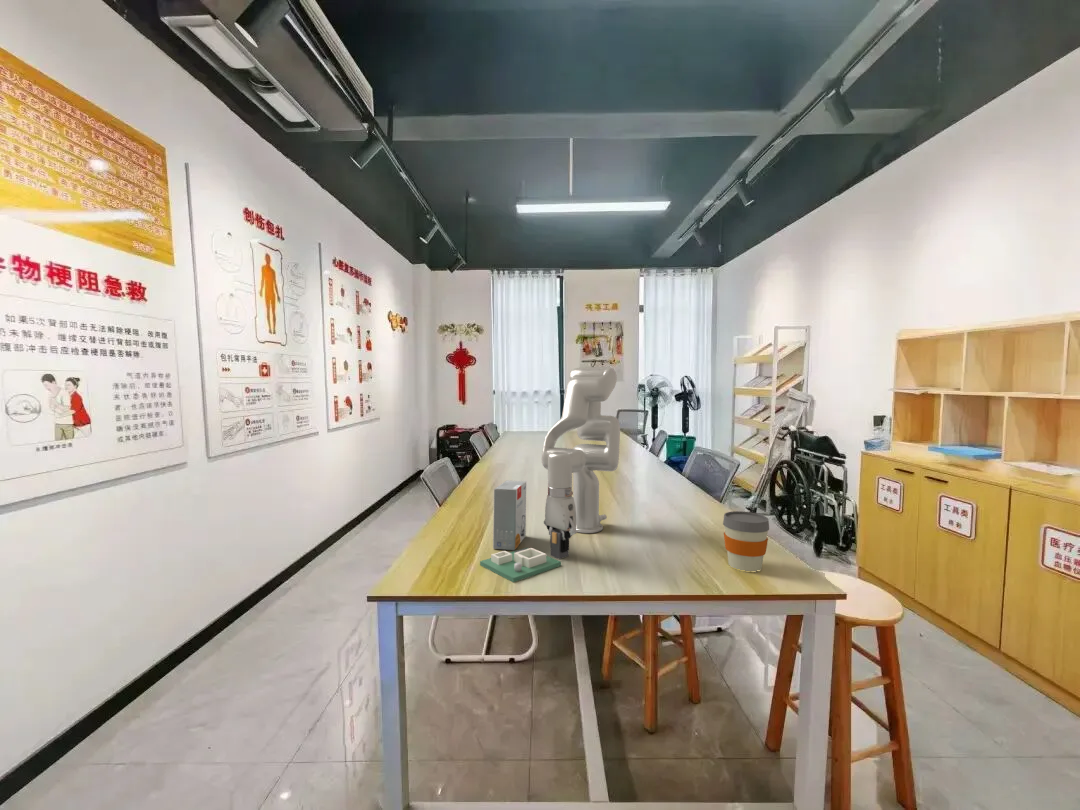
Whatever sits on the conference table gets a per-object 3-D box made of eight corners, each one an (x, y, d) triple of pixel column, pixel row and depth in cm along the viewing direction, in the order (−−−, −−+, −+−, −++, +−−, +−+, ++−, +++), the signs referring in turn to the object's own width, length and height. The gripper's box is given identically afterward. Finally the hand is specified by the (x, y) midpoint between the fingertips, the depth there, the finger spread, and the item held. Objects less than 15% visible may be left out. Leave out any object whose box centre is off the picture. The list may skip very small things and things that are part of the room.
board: (526, 551, 152) (526, 541, 152) (561, 565, 140) (561, 555, 140) (480, 565, 140) (480, 554, 140) (513, 582, 128) (513, 570, 128)
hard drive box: (515, 551, 152) (515, 490, 151) (492, 549, 153) (492, 488, 152) (526, 536, 167) (526, 480, 166) (505, 534, 168) (505, 479, 167)
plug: (559, 552, 151) (559, 527, 150) (568, 555, 148) (568, 530, 147) (549, 555, 148) (549, 530, 147) (558, 559, 145) (558, 534, 144)
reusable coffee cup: (724, 572, 135) (725, 521, 135) (720, 557, 147) (721, 509, 147) (772, 577, 132) (773, 524, 131) (763, 561, 144) (764, 512, 143)
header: (531, 555, 144) (531, 547, 144) (546, 562, 139) (546, 553, 139) (512, 561, 140) (512, 553, 139) (527, 568, 134) (527, 560, 134)
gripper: (587, 494, 143) (587, 554, 144) (550, 485, 155) (550, 540, 156) (570, 498, 138) (569, 560, 139) (533, 488, 151) (533, 545, 151)
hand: (559, 548), depth 148 cm, fingers closed on plug, 3 cm apart
